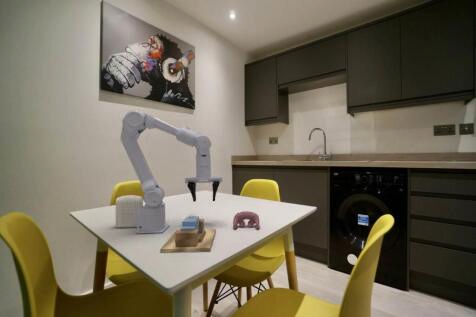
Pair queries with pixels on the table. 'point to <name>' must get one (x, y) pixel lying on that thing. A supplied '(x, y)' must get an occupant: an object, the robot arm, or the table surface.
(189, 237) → the bread on cutting board
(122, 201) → the photo printer
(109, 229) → the table surface
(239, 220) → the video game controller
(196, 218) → the servo
